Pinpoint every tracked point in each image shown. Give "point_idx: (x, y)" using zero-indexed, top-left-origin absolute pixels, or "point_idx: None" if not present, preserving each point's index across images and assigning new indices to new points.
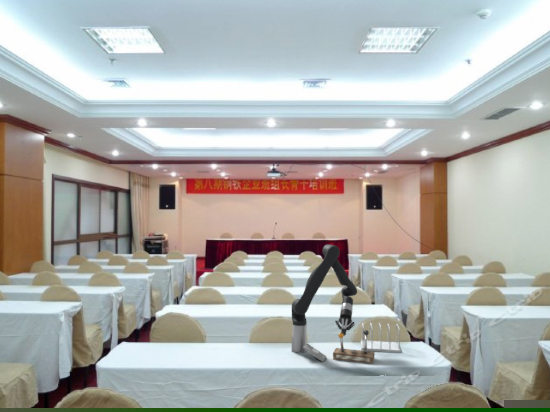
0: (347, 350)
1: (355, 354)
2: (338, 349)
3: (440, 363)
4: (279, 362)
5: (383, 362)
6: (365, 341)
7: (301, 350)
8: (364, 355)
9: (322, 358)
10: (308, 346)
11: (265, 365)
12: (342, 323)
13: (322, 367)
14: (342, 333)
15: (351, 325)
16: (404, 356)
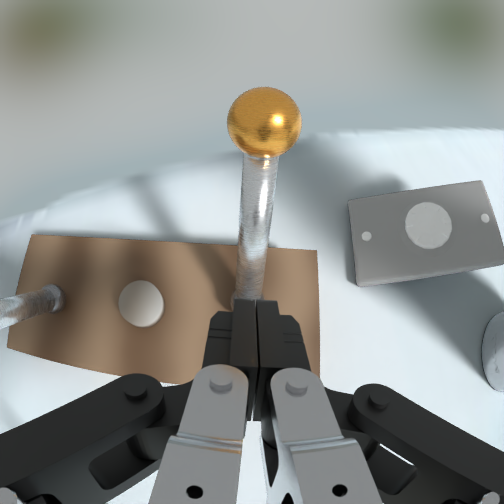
0: (202, 345)
1: (132, 253)
2: None
3: None
4: (484, 172)
5: (2, 290)
6: (3, 299)
7: (498, 316)
8: (72, 248)
9: (362, 211)
10: (479, 226)
11: (490, 144)
12: (345, 482)
13: (324, 138)
14: (244, 97)
15: (29, 424)
16: None
